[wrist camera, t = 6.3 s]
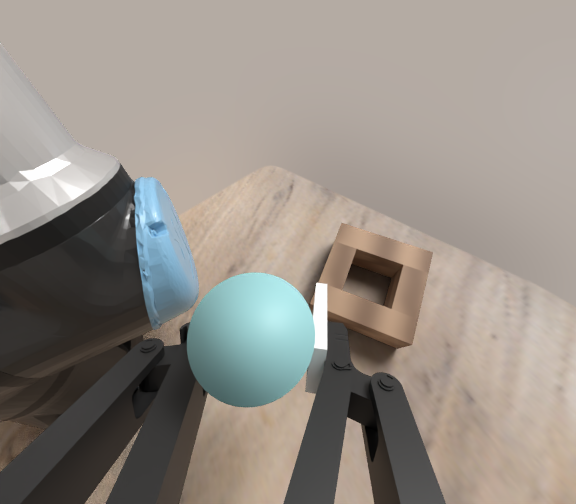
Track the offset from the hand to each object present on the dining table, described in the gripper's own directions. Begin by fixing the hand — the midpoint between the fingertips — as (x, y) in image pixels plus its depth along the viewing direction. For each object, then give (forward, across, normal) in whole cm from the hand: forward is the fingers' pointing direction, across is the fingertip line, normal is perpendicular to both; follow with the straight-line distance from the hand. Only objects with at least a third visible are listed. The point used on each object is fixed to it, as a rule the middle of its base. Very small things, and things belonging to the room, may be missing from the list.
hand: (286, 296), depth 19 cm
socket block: (+18, +9, -8) cm, 21 cm away
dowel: (0, 0, -6) cm, 6 cm away
